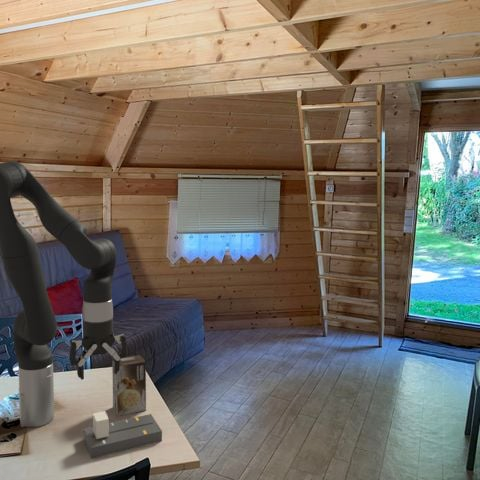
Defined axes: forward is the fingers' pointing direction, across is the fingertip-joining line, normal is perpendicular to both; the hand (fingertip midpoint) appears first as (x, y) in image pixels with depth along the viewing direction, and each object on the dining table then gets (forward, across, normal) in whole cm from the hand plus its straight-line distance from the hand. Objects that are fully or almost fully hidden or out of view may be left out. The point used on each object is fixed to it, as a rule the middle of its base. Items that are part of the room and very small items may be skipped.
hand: (98, 375), depth 123 cm
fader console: (+20, +6, 0) cm, 21 cm away
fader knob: (+17, 0, 0) cm, 17 cm away
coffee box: (+20, +12, +17) cm, 29 cm away
